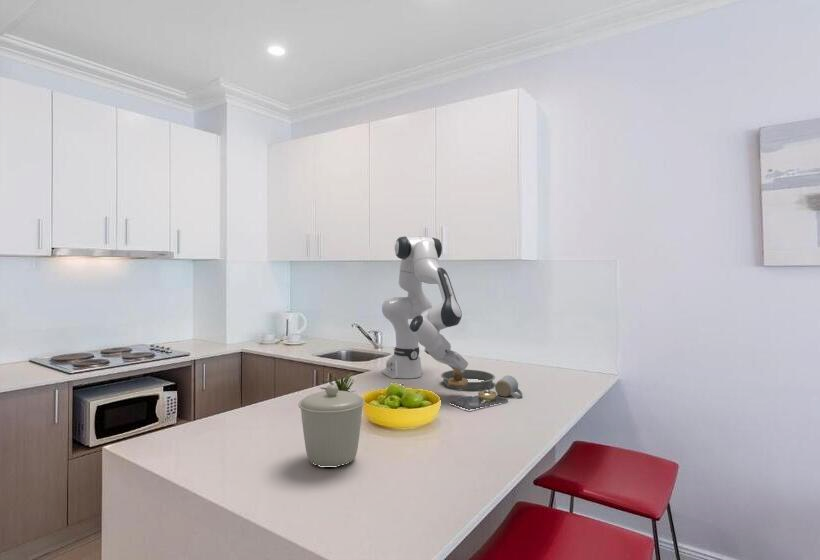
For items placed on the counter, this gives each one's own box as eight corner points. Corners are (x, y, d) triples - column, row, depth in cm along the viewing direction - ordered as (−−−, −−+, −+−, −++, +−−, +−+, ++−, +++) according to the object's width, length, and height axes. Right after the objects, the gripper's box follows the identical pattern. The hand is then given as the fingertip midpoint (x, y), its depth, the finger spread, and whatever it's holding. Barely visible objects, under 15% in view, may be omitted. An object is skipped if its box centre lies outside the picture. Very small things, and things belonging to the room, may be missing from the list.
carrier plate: (449, 404, 181) (449, 392, 181) (487, 396, 193) (487, 385, 193) (469, 412, 171) (469, 399, 171) (508, 402, 184) (508, 391, 183)
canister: (335, 443, 141) (334, 374, 140) (378, 458, 129) (378, 383, 129) (285, 462, 127) (284, 386, 126) (328, 481, 115) (328, 397, 115)
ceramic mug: (493, 396, 193) (494, 377, 193) (501, 391, 200) (501, 374, 200) (518, 400, 187) (518, 381, 187) (525, 395, 194) (525, 377, 194)
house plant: (333, 409, 174) (332, 366, 174) (367, 413, 170) (366, 369, 170) (314, 421, 161) (313, 374, 160) (350, 425, 156) (350, 377, 156)
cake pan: (438, 390, 203) (438, 380, 202) (443, 377, 227) (444, 368, 227) (495, 393, 198) (495, 382, 198) (494, 379, 222) (495, 370, 222)
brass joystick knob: (444, 383, 192) (444, 359, 192) (458, 381, 197) (459, 357, 196) (456, 388, 185) (457, 363, 185) (471, 385, 190) (471, 361, 190)
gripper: (459, 346, 178) (479, 369, 183) (431, 338, 196) (450, 359, 201) (449, 359, 176) (469, 381, 181) (421, 350, 194) (441, 370, 199)
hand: (459, 370), depth 191 cm, fingers closed on brass joystick knob, 4 cm apart
